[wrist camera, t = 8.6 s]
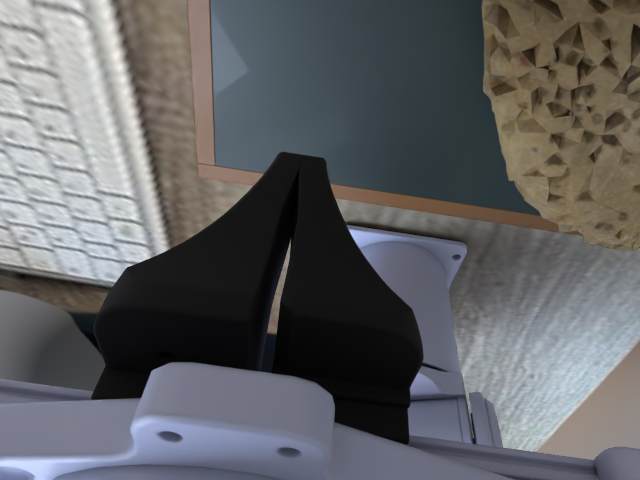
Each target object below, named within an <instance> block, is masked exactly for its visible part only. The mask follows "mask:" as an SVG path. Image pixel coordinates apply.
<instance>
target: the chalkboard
mask: <svg viewBox="0 0 640 480" xmlns="http://www.w3.org/2000/svg"><path fill="white" fill-rule="evenodd" d="M187 8H188V23H189V39H190V54H191V70H192V85H193V101H194V116H195V132H196V147H197V162H198V177H200V178H206V179H213V180H219V181H226V182H233V183H239V184H246V185H252V186H254V185H255V184H256V183H257V181H258V180H259V179H260V178H261V177H262V176H263V174H264V173H265V172H266V171H267V169H268V168H269V167H270V165H271V164H272V162H273V161H274V159H275V158H276V156H277V154H279V153H280V152H288V153H295V154H301V155H308V156H314V157H321V158H324V159H325V161H326V162H327V172H328V177H329V181H330V185H331V188H332V191H333V194H334V197H335V198H337V199H344V200H351V201H357V202H364V203H370V204H377V205H383V206H390V207H396V208H403V209H410V210H416V211H423V212H429V213H436V214H442V215H449V216H456V217H462V218H469V219H475V220H482V221H488V222H495V223H501V224H508V225H515V226H521V227H528V228H534V229H541V230H547V231H554V232H559V226H558V224H556V223H554V222H551V221H549V220H546V219H544V218H542V216H541V214H540V212H539V211H538V210H537V209H535V208H534V207H533V206H531V205H530V204H529V203H527V202H526V201H525V200H524V197H523V196H522V195H521V193H520V192H519V191H518V189H517V188H516V186H515V181H514V180H513V181H509V179H508V175H507V171H506V161H505V159H504V157H503V154H502V152H501V145H500V141H499V134H498V129H497V125H496V120H495V113H494V112H492V104H491V100H490V98H489V97H488V96H487V95H486V94H485V93H484V92H483V77H484V29H483V18H482V0H187ZM562 233H567V234H574V235H580V236H583V235H582V234H581V233H580V232H578V231H571V232H562Z"/></svg>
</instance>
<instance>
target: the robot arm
mask: <svg viewBox="0 0 640 480" xmlns="http://www.w3.org/2000/svg"><path fill="white" fill-rule="evenodd" d="M290 240H291V250H290V260H289V265H288V270H287V274H286V279H285V283H284V288H283V292H282V297H281V301H280V310H279V320H278V329H277V338H276V347H275V356H274V363H273V369H272V373H265V372H260V369H261V363H262V357H263V352H264V346H265V340H266V335H267V329H268V324H269V318H270V313H271V307H272V303H273V299H274V295H275V291H276V288H277V285H278V281H279V278H280V274H281V271H282V267H283V264H284V261H285V257H286V254H287V250H288V247H289V243H290ZM467 251H468V250H467V246H466V244H465V243H463V242H457V241H451V240H444V239H437V238H431V237H424V236H417V235H411V234H404V233H398V232H391V231H384V230H378V229H371V228H364V227H358V226H351V225H346V224H345V221H344V219H343V217H342V215H341V213H340V210H339V208H338V205H337V202H336V200H335V197H334V194H333V191H332V188H331V185H330V181H329V177H328V172H327V162H326V161H325V159H324V158H321V157H314V156H308V155H301V154H295V153H288V152H280V153H279V154H277V156H276V158H275V159H274V161H273V162H272V164H271V165H270V167H269V168H268V169H267V171H266V172H265V173H264V174H263V176H262V177H261V178H260V179H259V180H258V181H257V183H256V184H255V185H254V186H253V187H252V188H251V189H250V190H249V191H248V192H247V193H246V194H245V195H244V196H243V197H242V198H241V199H240V200H239V201H238V202H237V203H236V204H235V205H234V206H233V207H232V208H231V209H230V210H228V211H227V212H226V213H225V214H224V215H222V216H221V217H220V218H219V219H217V220H216V221H215V222H214V223H212V224H211V225H209V226H208V227H206V228H205V229H204V230H202V231H201V232H199V233H198V234H196V235H195V236H193V237H191V238H190V239H188V240H186V241H185V242H183V243H181V244H179V245H177V246H175V247H174V248H172V249H170V250H168V251H166V252H164V253H161V254H159V255H157V256H155V257H152V258H150V259H147V260H145V261H143V262H140V263H138V264H135V265H133V266H130V267H127V268H126V270H125V271H124V272H123V274H122V275H121V276H120V278H119V279H118V280H117V282H116V283H115V284H114V286H113V287H112V289H111V290H110V292H109V294H108V295H107V297H106V299H105V301H104V303H103V305H102V307H101V309H100V310H99V312H98V314H97V316H96V319H95V321H94V324H93V327H94V334H95V337H96V340H97V342H98V345H99V348H100V351H101V353H102V356H103V359H104V362H105V364H106V366H105V368H104V370H103V373H102V375H101V377H100V379H99V382H98V384H97V385H96V388H95V390H94V392H92V391H84V390H77V389H69V388H62V387H55V386H48V385H40V384H33V383H26V382H18V381H11V380H4V379H0V480H640V449H636V448H628V447H614V448H609V449H606V450H604V451H603V452H601V453H600V454H599V455H598V456H597V457H596V458H595V459H594V460H588V459H581V458H574V457H566V456H559V455H551V454H544V453H537V452H530V451H523V450H515V449H508V448H503V445H502V440H501V435H500V430H499V425H498V421H497V417H496V412H495V409H494V406H493V404H492V403H491V402H490V401H488V400H487V399H486V398H483V396H482V394H481V393H480V392H473V393H469V397H470V403H471V409H472V413H471V420H472V426H473V432H474V439H473V437H472V431H471V424H470V418H469V412H468V406H467V400H466V394H465V388H464V382H463V376H462V373H461V371H460V365H459V358H458V352H457V345H456V339H455V332H454V326H453V319H452V313H451V306H450V300H449V293H448V289H449V287H450V285H451V283H452V281H453V279H454V277H455V275H456V274H457V272H458V270H459V268H460V266H461V264H462V262H463V260H464V258H465V256H466V254H467ZM456 254H458V255H457V256H454V255H456Z"/></svg>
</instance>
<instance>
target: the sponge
mask: <svg viewBox="0 0 640 480" xmlns="http://www.w3.org/2000/svg"><path fill="white" fill-rule="evenodd" d="M482 18H483V29H484V77H483V92H484V93H485V94H486V95H487V96H488V97H489V98H490V100H491V104H492V112H494V113H495V120H496V125H497V129H498V134H499V141H500V145H501V152H502V154H503V157H504V159H505V161H506V171H507V175H508V179H509V181H513V180H514V181H515V186H516V188H517V189H518V191H519V192H520V193H521V195H522V196H523V197H524V200H525V201H526V202H527V203H529V204H530V205H531V206H533V207H534V208H535V209H537V210H538V211H539V212H540V214H541V216H542V218H544V219H546V220H549V221H551V222H554V223H556V224H558V226H559V233H562V232H571V231H578V232H580V233H581V234H582V235H583V236H584V241H585V243H591V244H596V245H600V246H603V247H607V248H611V249H615V250H634V249H637V248H640V0H482Z"/></svg>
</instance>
